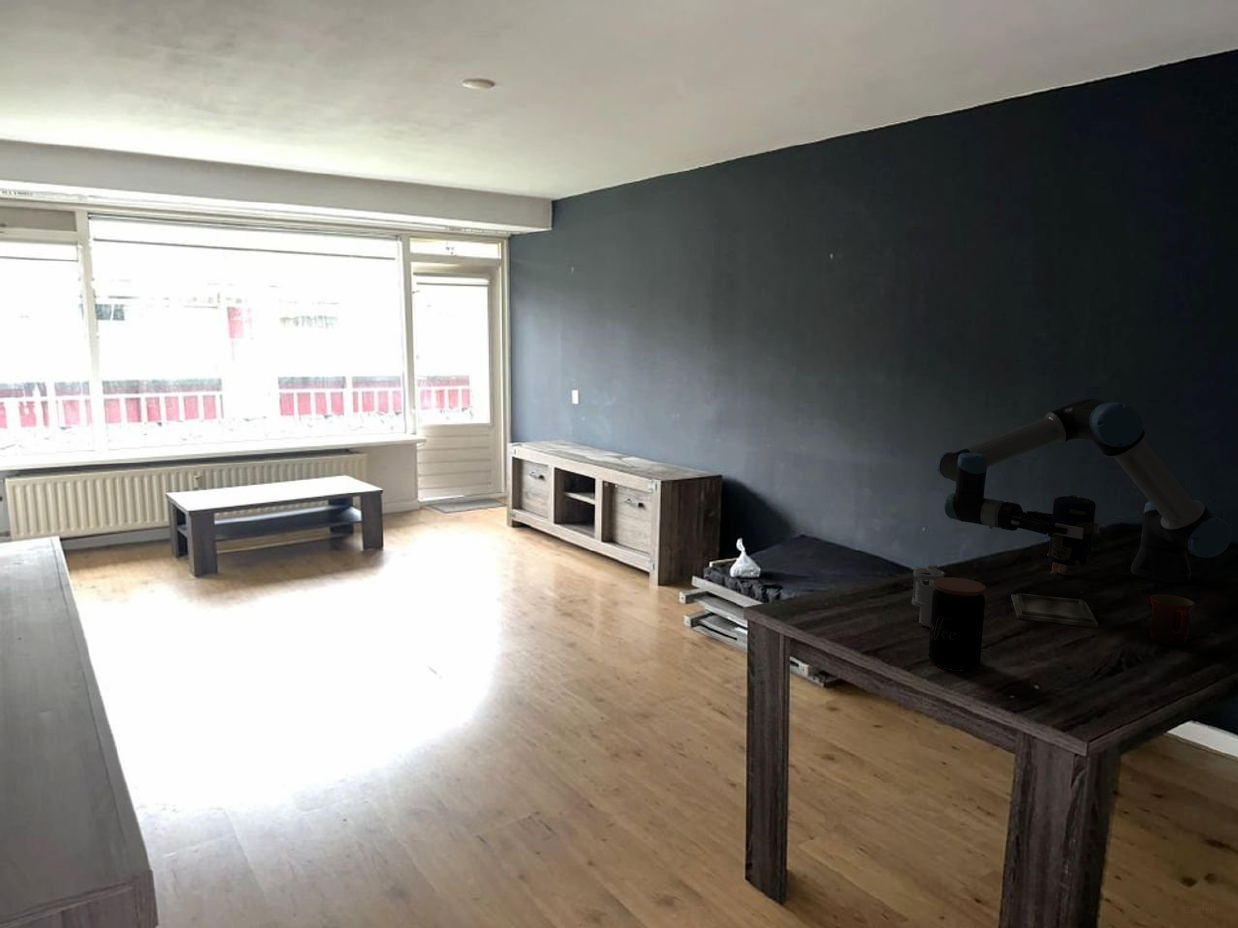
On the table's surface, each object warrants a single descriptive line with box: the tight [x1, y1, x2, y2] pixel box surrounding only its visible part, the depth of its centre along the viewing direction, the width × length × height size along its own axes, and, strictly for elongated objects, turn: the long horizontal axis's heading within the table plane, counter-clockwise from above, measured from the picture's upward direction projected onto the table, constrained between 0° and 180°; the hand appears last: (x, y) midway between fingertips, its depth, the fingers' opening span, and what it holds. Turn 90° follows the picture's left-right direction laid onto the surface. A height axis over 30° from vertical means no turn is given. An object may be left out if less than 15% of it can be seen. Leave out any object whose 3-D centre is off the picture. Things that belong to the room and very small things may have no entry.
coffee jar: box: [927, 576, 987, 672], centre depth 179 cm, size 11×11×18 cm
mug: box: [1149, 593, 1196, 647], centre depth 191 cm, size 12×9×10 cm
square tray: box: [1011, 592, 1099, 629], centre depth 214 cm, size 18×18×2 cm
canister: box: [1048, 494, 1097, 567], centre depth 209 cm, size 10×10×18 cm
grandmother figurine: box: [1046, 552, 1068, 576], centre depth 247 cm, size 8×4×13 cm, turn 83°
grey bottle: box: [911, 564, 945, 626], centre depth 202 cm, size 7×7×15 cm
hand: (1090, 530), depth 206 cm, fingers closed on canister, 9 cm apart
